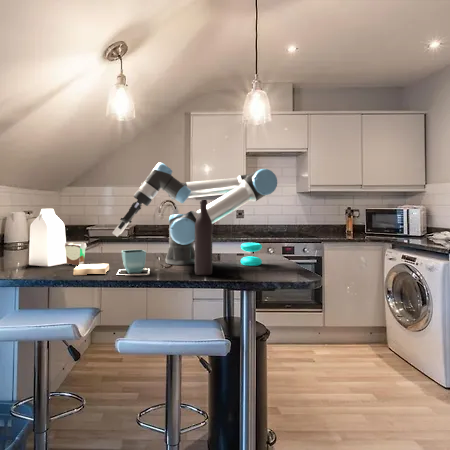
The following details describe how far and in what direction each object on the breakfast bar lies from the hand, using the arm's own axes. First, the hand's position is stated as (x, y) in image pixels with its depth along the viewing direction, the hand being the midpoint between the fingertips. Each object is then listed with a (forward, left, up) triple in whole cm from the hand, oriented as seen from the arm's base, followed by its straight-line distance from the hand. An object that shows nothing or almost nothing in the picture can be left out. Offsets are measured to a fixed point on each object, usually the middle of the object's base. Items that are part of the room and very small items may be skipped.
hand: (116, 233), depth 166 cm
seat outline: (-8, +11, -15) cm, 20 cm away
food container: (+19, -16, -16) cm, 30 cm away
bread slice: (+9, +8, -15) cm, 19 cm away
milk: (+33, -19, -16) cm, 41 cm away
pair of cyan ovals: (-61, -2, -16) cm, 63 cm away
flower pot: (-8, +11, -16) cm, 20 cm away
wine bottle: (-36, +19, -16) cm, 43 cm away
